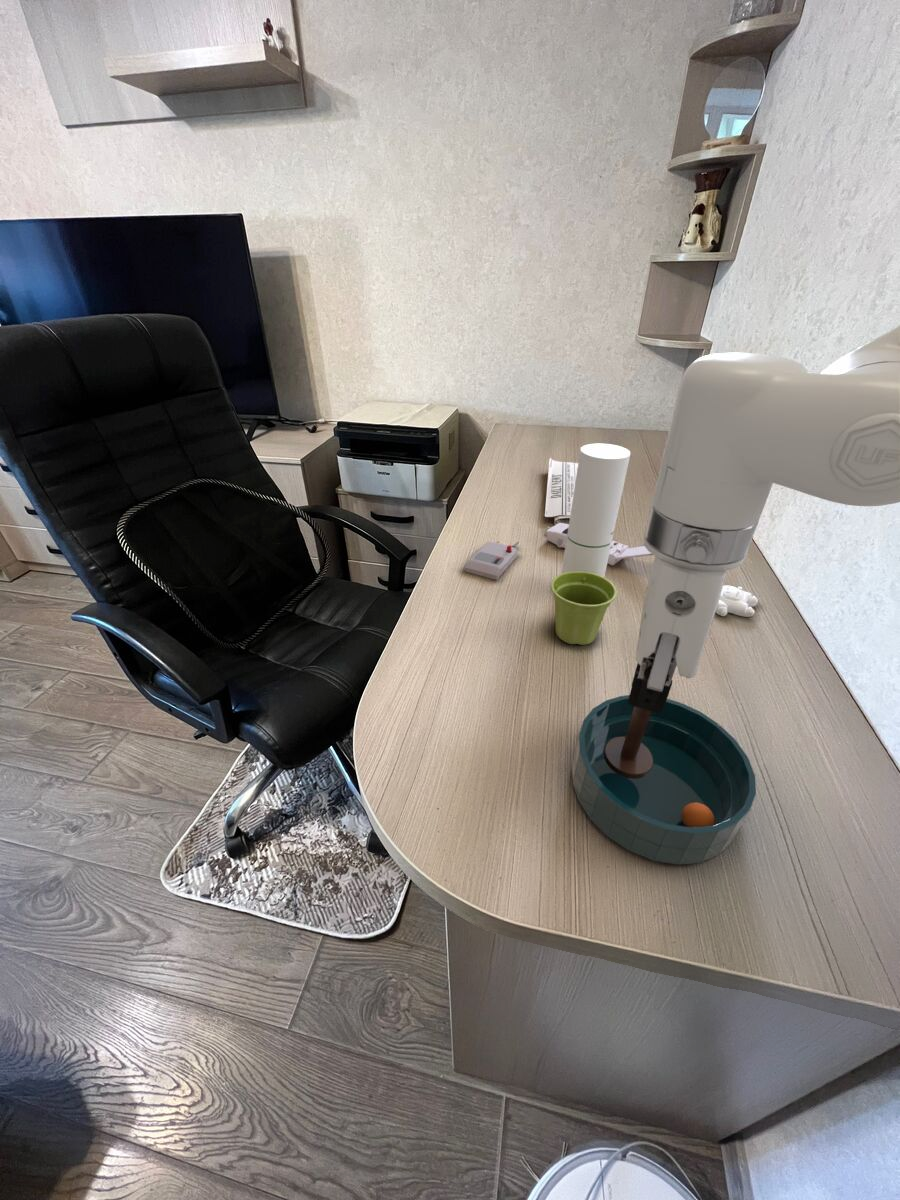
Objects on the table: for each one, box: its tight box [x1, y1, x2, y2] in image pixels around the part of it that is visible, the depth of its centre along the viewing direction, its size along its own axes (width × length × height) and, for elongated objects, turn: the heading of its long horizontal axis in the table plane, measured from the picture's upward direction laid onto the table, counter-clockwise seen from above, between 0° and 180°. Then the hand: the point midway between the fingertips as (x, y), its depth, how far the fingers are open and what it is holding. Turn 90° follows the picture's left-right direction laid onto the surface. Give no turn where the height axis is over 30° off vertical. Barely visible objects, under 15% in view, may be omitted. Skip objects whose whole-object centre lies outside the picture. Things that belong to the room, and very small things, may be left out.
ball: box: [682, 802, 715, 828], centre depth 50 cm, size 3×3×3 cm
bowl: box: [571, 694, 757, 865], centre depth 54 cm, size 17×17×6 cm
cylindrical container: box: [560, 442, 631, 578], centre depth 81 cm, size 7×7×25 cm
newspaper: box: [544, 457, 579, 525], centre depth 122 cm, size 35×12×4 cm, turn 172°
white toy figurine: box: [715, 584, 759, 618], centre depth 85 cm, size 9×12×3 cm
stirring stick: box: [604, 662, 653, 779], centre depth 50 cm, size 5×5×15 cm
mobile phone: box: [545, 523, 654, 566], centre depth 97 cm, size 6×6×25 cm
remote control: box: [464, 541, 520, 581], centre depth 96 cm, size 7×16×3 cm, turn 152°
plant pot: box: [550, 571, 618, 646], centre depth 76 cm, size 9×9×9 cm
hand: (646, 698), depth 49 cm, fingers closed on stirring stick
